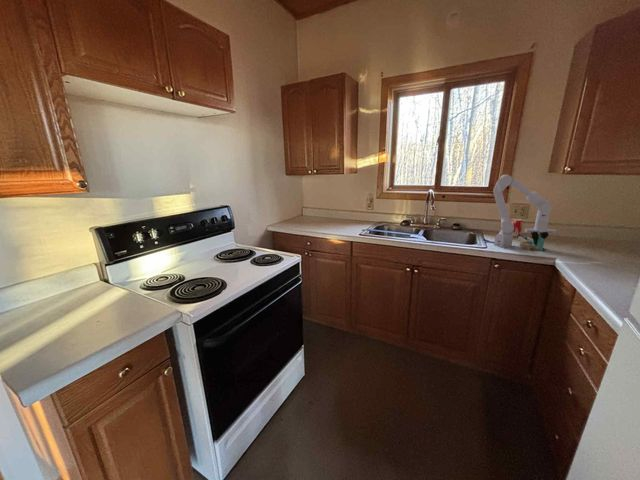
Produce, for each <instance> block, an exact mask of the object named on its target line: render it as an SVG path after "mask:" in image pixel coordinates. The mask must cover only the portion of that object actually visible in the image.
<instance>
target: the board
mask: <svg viewBox="0 0 640 480" xmlns="http://www.w3.org/2000/svg"><path fill="white" fill-rule="evenodd" d="M545 240H546V239H544V238H542V237H540V235H539V237H538V240H537V245H535V244H534V242H533V241H532V245H533V246H535V247H536V248H538V250H539V251H538V252H544V251H543V248H544V246H545V245H544V244H545Z"/></svg>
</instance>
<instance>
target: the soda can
mask: <svg viewBox="0 0 640 480" xmlns="http://www.w3.org/2000/svg"><path fill="white" fill-rule="evenodd" d="M510 221H511V222H512V223H513V226H514V230H513V232H514V234H513V238H516V237H517V238H518V236H520V237H522V234H523V233H522V231H523V226H524V222H523V219H522V218H512V220H510Z"/></svg>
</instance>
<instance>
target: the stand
mask: <svg viewBox="0 0 640 480" xmlns="http://www.w3.org/2000/svg"><path fill="white" fill-rule="evenodd" d="M517 240H518V241H519V242H520V240H524V241H526V242H527V243H528V244H531V245H532V241H533V237H532V238H531V237H530V236H518V237H517Z"/></svg>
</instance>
